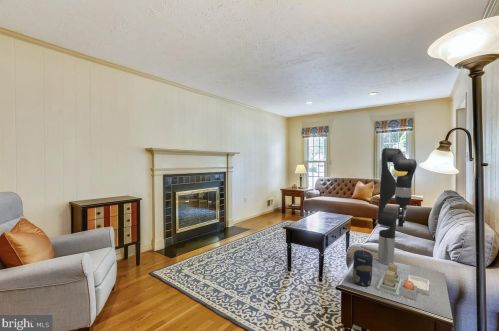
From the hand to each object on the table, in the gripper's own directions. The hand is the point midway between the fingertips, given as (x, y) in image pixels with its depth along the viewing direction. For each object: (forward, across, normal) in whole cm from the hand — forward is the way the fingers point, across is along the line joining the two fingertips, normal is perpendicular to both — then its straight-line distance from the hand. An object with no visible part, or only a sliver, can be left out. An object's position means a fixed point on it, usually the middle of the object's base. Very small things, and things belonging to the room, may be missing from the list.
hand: (401, 224), depth 134 cm
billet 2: (+32, +10, -3) cm, 34 cm away
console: (+33, +9, +6) cm, 35 cm away
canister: (+33, +12, -16) cm, 39 cm away
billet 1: (+32, 0, -3) cm, 32 cm away
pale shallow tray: (+33, -3, +9) cm, 34 cm away
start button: (+33, +9, +6) cm, 34 cm away
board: (+33, +5, -3) cm, 34 cm away
